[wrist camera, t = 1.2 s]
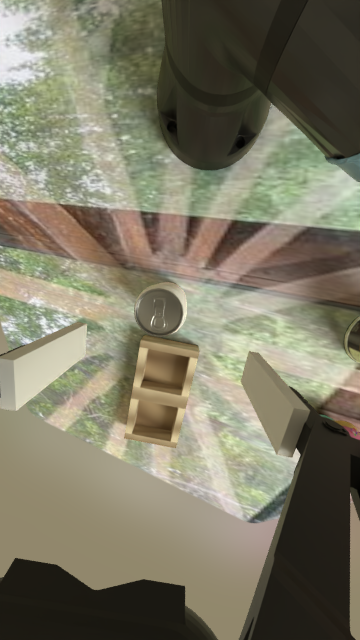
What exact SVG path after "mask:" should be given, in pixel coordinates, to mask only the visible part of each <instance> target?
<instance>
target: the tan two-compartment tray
mask: <svg viewBox="0 0 360 640" xmlns="http://www.w3.org/2000/svg"><path fill="white" fill-rule="evenodd" d="M198 356H199V348H198V346H197V345H192V344H187V343H182V342H177V341H172V340H167V339H162V338H158V337H153V336H148V335H144V336H143V338H142V339H141V342H140V348H139V354H138V360H137V366H136V372H135V378H134V384H133V389H132V395H131V401H130V407H129V413H128V419H127V425H126V431H125V437H124V438H126V439H131V440H136V441H141V442H147V443H152V444H157V445H162V446H167V447H173V448H176V445H177V441H178V437H179V433H180V429H181V425H182V421H183V417H184V413H185V409H186V405H187V400H188V396H189V392H190V388H191V384H192V380H193V376H194V372H195V368H196V364H197V360H198Z"/></svg>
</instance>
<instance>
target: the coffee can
mask: <svg viewBox="0 0 360 640" xmlns="http://www.w3.org/2000/svg"><path fill="white" fill-rule="evenodd" d="M344 346H345V350H346V352H347V354H348V355H349V356H350V358H352V359H353V360H354V361H356V362H358V363H360V316H359V317H358V318H357V319H355V320H354V321H353V322H352V324H351V325H350V326H349V328H348V330H347V332H346V334H345V338H344Z"/></svg>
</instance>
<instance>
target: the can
mask: <svg viewBox="0 0 360 640" xmlns="http://www.w3.org/2000/svg"><path fill="white" fill-rule="evenodd" d="M134 314H135V319H136V322H137V324H138V325H139V327H140V328H141V329H142V330H143V331H144V332H145V333H147V334H149V335H152V336H156V337H164V336H168V335H170V334H173V333H174V332H176V331H177V330H179V329H180V327H181V326H182V325H183V323H184V321H185V319H186V315H187V301H186V296H185V293H184V291H183V290H182V288H181V287H180V286H178V285H177V284H175V283H171V282H163V283H158V284H155V285H152V286H149V287H147V288H146V289H144V290H143V291H142V292H141V293H140V294H139V296H138V298H137V300H136V302H135V308H134Z"/></svg>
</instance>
